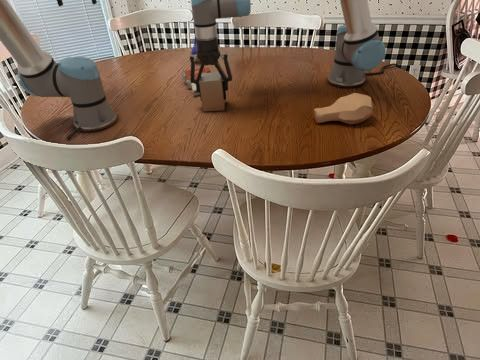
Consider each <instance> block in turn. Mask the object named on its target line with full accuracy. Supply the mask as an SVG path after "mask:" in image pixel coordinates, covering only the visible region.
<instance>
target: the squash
mask: <svg viewBox="0 0 480 360" xmlns="http://www.w3.org/2000/svg"><path fill="white" fill-rule="evenodd" d="M373 111H374V104H373V100H372V97H371V96H369V95H366V94H364V93H363V94H362V93H357V92H353V93H351V94H348V95H345V96H341V97H338V99H337V100H335V102H334V103H332V104H331V105H330V106H325V107H316V108H314V109H313V116H314V118H315V122H316V123H317V124H320V123H325V122H332V121H336V122H339V121H340V122H341V123H343V124H344V123H345V124H347V125H356V124H361V123H363V122H365V121H367V120H368V119H370V118H371V116H372V115H373Z"/></svg>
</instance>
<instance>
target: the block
mask: <svg viewBox="0 0 480 360" xmlns="http://www.w3.org/2000/svg"><path fill="white" fill-rule="evenodd" d="M222 83H223V79H222V77H221V75H220V74H219V72H218V71H215V72H213V71H212V72H211V73H202V74H201V78H200V80H199V85H200V92H201V98H200V101H201V100H202V101H201V107H202V112H203V113H204V112H222V111H225V108H226V100H224V94H223V84H222Z"/></svg>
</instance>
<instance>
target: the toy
mask: <svg viewBox="0 0 480 360" xmlns="http://www.w3.org/2000/svg"><path fill="white" fill-rule="evenodd" d="M196 40H197V38H196V35H194V39H193V45H192V48H191V49H190V55H196V54H197V53H198V50H197V43H196ZM196 61H197V62H198V63H199V62H200V60H199V59H198V58H196Z"/></svg>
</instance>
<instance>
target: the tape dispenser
mask: <svg viewBox="0 0 480 360" xmlns="http://www.w3.org/2000/svg"><path fill="white" fill-rule="evenodd" d="M199 70H200V68H195V76H194V79H197V76H198V73H199V72H197V71H199ZM180 73H181V78H182V81H184V84H186V87H188V89H191V90H192V95H193V96H200V92H197V89H196V84H195V83H191V82H190V78H191V69H188V70H181V72H180ZM202 73H212V72H211V69H210V68H209V67H208V66H207V67H204V68H203V71H202Z"/></svg>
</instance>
